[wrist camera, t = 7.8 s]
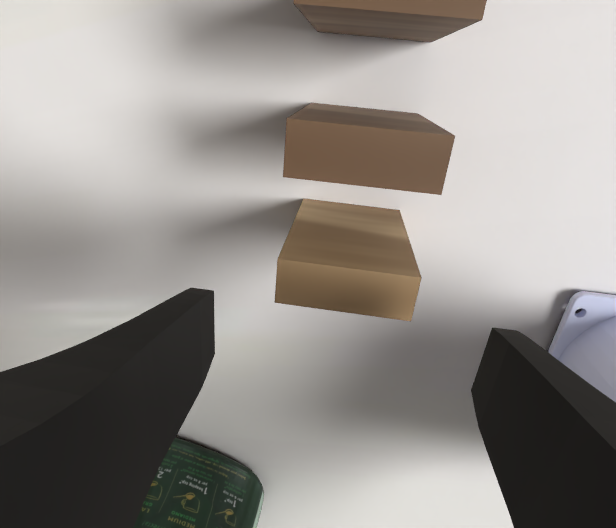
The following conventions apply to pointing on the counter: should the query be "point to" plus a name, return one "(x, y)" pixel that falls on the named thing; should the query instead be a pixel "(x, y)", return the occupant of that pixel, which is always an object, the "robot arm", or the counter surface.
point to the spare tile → (348, 261)
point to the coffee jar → (201, 491)
